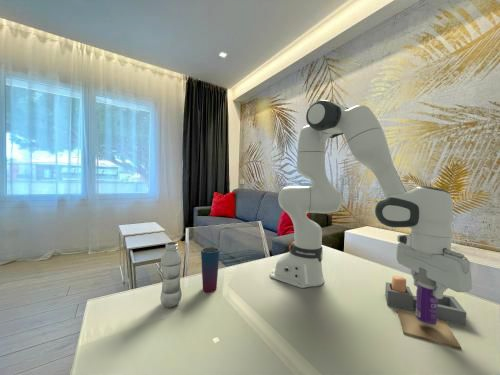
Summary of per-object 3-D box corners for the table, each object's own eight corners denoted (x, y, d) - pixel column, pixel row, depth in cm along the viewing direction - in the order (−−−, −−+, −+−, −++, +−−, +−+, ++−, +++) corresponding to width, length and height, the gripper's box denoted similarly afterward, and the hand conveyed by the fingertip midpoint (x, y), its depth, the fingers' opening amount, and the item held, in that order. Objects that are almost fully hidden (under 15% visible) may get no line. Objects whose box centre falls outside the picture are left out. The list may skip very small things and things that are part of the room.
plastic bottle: (186, 301, 74) (186, 242, 73) (170, 312, 68) (171, 248, 67) (171, 296, 77) (172, 239, 76) (155, 306, 70) (156, 244, 70)
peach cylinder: (391, 302, 76) (393, 279, 75) (390, 297, 79) (391, 275, 79) (406, 305, 74) (407, 282, 73) (404, 299, 77) (405, 277, 77)
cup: (196, 291, 81) (197, 250, 80) (207, 283, 87) (207, 245, 86) (212, 295, 78) (213, 253, 77) (222, 287, 84) (223, 248, 84)
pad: (403, 333, 61) (403, 331, 61) (397, 311, 72) (397, 309, 71) (461, 349, 55) (461, 347, 55) (444, 322, 66) (445, 320, 66)
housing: (387, 307, 74) (388, 292, 73) (384, 293, 82) (385, 280, 82) (465, 325, 65) (466, 309, 65) (452, 308, 74) (453, 293, 74)
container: (433, 328, 60) (436, 273, 59) (412, 318, 64) (415, 267, 63) (438, 322, 63) (442, 269, 62) (418, 313, 66) (421, 264, 66)
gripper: (481, 256, 52) (478, 313, 53) (411, 234, 73) (409, 276, 73) (457, 256, 52) (454, 314, 52) (393, 234, 72) (391, 276, 73)
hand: (427, 291), depth 63 cm, fingers closed on container, 5 cm apart
